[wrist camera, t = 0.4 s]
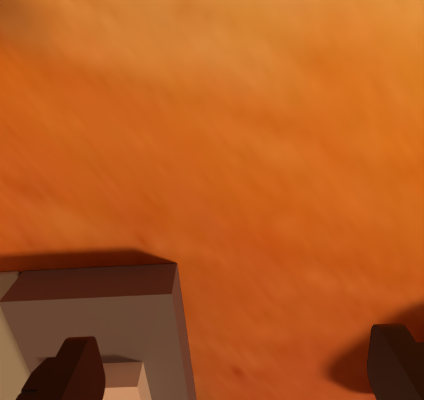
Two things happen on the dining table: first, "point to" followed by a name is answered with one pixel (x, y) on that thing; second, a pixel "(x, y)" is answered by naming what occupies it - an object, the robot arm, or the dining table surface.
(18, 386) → the mat
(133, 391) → the tile
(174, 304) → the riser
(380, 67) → the dining table surface
